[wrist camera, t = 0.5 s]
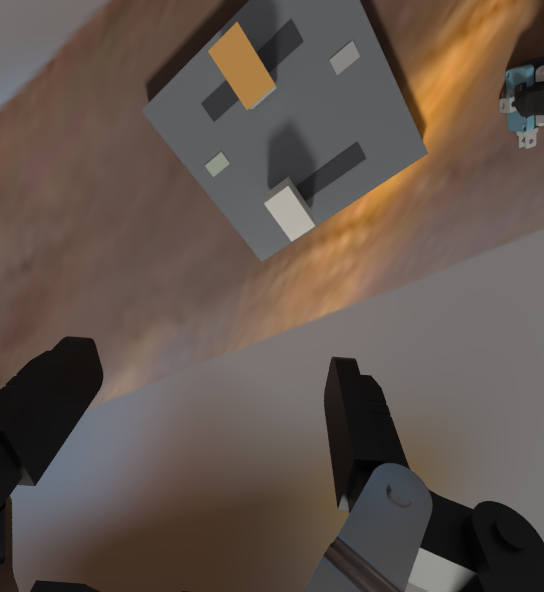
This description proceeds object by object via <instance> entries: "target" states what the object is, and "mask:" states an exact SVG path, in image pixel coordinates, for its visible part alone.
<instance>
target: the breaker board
mask: <svg viewBox="0 0 544 592" xmlns="http://www.w3.org/2000/svg"><path fill="white" fill-rule="evenodd" d="M236 22H238V24H239V25H240V27H241V28H242V30H243V32H244V33H245V35H246V37H247V38H248V40H249V42H250V43H251V45H252V47H253V48H254V50H255V52H256V53H257V55H258V57H259V58H260V60H261V62H262V63H263V65H264V67H265V68H266V70H267V72H268V73H269V75H270V77H271V78H272V80H273V82H274V83H275V86H276V89H275V90H274V91H273V92H272V93H270V94H269V95H268V96H267V97H266V98H265V99H264V100H262V101H261V102H260V103H259V104H258V105H257V106H256V107H254V108H253V109H248V110H246V108H245V107H244V105H243V104H242V102H241V101H240V99H239V98H238V96H237V95H236V93H235V92H234V90H233V89H232V87H231V86H230V84H229V83H228V81H227V80H226V78H225V77H224V75H223V74H222V72H221V70H220V69H219V67H218V66H217V64H216V63H215V61H214V60H213V58H212V57H211V55H210V54H209V52H208V51H209V50H210V49H211V48H212V46H213V45H214V44H215V43H216V42H217V41H218V40H219V39H220V38H221V37H222V36H223V35H224V34H225V33H226V32H227V31H228V30H229V29H230V28H231V27H232V26H233V25H234V24H235V23H236ZM141 111H142V113H143V114H144V115H145V116H146V118H147V119H148V120H149V121H150V123H151V124H152V125H153V126H154V128H155V129H156V130H157V131H158V133H159V134H160V135H161V136H162V138H163V139H164V140H165V141H166V143H167V144H168V145H169V146H170V148H171V149H172V150H173V151H174V153H175V154H176V155H177V156H178V158H179V159H180V160H181V161H182V163H183V164H184V165H185V166H186V168H187V169H188V170H189V171H190V173H191V174H192V175H193V176H194V178H195V179H196V180H197V181H198V183H199V184H200V185H201V186H202V188H203V189H204V190H205V191H206V193H207V194H208V195H209V196H210V198H211V199H212V200H213V201H214V203H215V204H216V205H217V206H218V208H219V209H220V210H221V212H222V213H223V214H224V215H225V217H226V218H227V219H228V220H229V222H230V223H231V224H232V225H233V227H234V228H235V229H236V230H237V232H238V233H239V234H240V235H241V237H242V238H243V239H244V240H245V242H246V243H247V244H248V245H249V247H250V248H251V249H252V250H253V252H254V253H255V254H256V255H257V257H258V258H259V259H260V260H261V262H263V261H264V260H266V259H267V258H269V257H270V256H272V255H273V254H275V253H276V252H278V251H279V250H281V249H282V248H284V247H286V246H287V245H289V244H290V243H292V242H293V241H295V240H296V239H298V238H299V237H301V236H302V235H304V234H305V233H307V232H308V231H310V230H312V229H313V228H315V227H316V226H318V225H319V224H321V223H322V222H324V221H325V220H327V219H328V218H330V217H331V216H333V215H334V214H336V213H338V212H339V211H341V210H342V209H344V208H345V207H347V206H348V205H350V204H351V203H353V202H354V201H356V200H357V199H359V198H360V197H362V196H364V195H365V194H367V193H368V192H370V191H371V190H373V189H374V188H376V187H377V186H379V185H380V184H382V183H383V182H385V181H386V180H388V179H389V178H391V177H393V176H394V175H396V174H397V173H399V172H400V171H402V170H403V169H405V168H406V167H408V166H409V165H411V164H412V163H414V162H415V161H417V160H419V159H420V158H422V157H423V156H425V155H426V154H428V152H427V150H426V147H425V145H424V143H423V141H422V138H421V136H420V134H419V132H418V129H417V127H416V125H415V123H414V120H413V118H412V116H411V114H410V112H409V109H408V107H407V105H406V103H405V100H404V98H403V96H402V94H401V91H400V89H399V87H398V85H397V82H396V80H395V78H394V76H393V73H392V71H391V69H390V67H389V65H388V62H387V60H386V58H385V56H384V53H383V51H382V49H381V47H380V44H379V42H378V40H377V38H376V35H375V33H374V31H373V29H372V27H371V24H370V22H369V20H368V18H367V15H366V13H365V11H364V9H363V6H362V4H361V2H360V0H249V1H248V2H247V3H246V4H245V5H244V6H243V7H242V8H241V9H240V10H239V11H238V12H237V13H236V14H235V15H234V16H233V17H232V18H231V19H230V20H229V21H228V22H227V23H226V24H225V25H224V27H223V28H222V29H221V30H220V31H219V32H218V33H217V34H216V35H215V36H214V37H213V38H212V39H211V40H210V41H209V42H208V43H207V44H206V45H205V46H204V47H203V48H202V49H201V50H200V51H199V52H198V53H197V54H196V55H195V56H194V57H193V58H192V59H191V60H190V61H189V62H188V63H187V64H186V65H185V66H184V67H183V68H182V69H181V70H180V72H179V73H178V74H177V75H176V76H175V77H174V78H173V79H172V80H171V81H170V82H169V83H168V84H167V85H166V86H165V87H164V88H163V89H162V90H161V91H160V92H159V93H158V94H157V95H156V96H155V97H154V98H153V99H152V100H151V101H150V102H149V103H148V104H147V105H146V106H145V107H144V108H143V109H142V110H141Z"/></svg>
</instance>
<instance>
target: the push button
mask: <svg viewBox="0 0 544 592" xmlns="http://www.w3.org/2000/svg"><path fill="white" fill-rule="evenodd" d="M505 80H506V96H507V98H501V99H500V100H499V108H500V112H501V113H507V120H508V129H509V130H510V131H516V133H517V136H519V147H520V148H521V147H523V146H525V148H526V149H528V148H531V147H533V146H535V145H536V132H538V127H540V126H543V125H544V57H539V58H535V59H533V60H531V61H528V62H526V63H524V64H521V65H519V66H517V67H515V68H512V69H510V70H508V71H506V73H505ZM503 103H504V104H505V108H503V107H502V104H503ZM523 138H525V142H524V143H522V139H523ZM530 139H533V142H532V143H531V144H529V140H530Z"/></svg>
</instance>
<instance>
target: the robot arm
mask: <svg viewBox="0 0 544 592" xmlns="http://www.w3.org/2000/svg"><path fill="white" fill-rule="evenodd" d="M102 382H103V370H102V366H101V363H100V359H99V355H98V352H97V348H96V345H95V342H94V340H93V339H92V338H83V337H70V336H67V337H64V338H63V339H62V340H61V341H60V342H59V343H58V344H57V345H56V346H55V347H54V348H53V349H52V350H51V351H46V352H44V353H42V354H41V355H39V356H37V357H36V358H34V359H32V360H31V361H29V362H28V363H27V364H26V365H25V366H24V367H23V368H22V369H21V370H20V371H19V372H18V373H17V376H14V377H13V378H12V379H11V380H10V381H9V382H8V383H7V384H6V386H5V387H3V388H1V389H0V592H19V589H18V585H17V583H16V580H15V577H14V572H13V541H12V540H13V539H12V538H13V537H12V536H13V535H12V499H11V497H10V494H11V493H12V491H13V490H14V489H15V487H16V486H17V485H28V486H35V485H36V484H37V483H38V481H39V480H40V478H41V477H42V475H43V474H44V472H45V471H46V469H47V468H48V466H49V465H50V463H51V462H52V460H53V459H54V457H55V456H56V454H57V453H58V451H59V450H60V448H61V447H62V445H63V444H64V442H65V441H66V439H67V438H68V436H69V435H70V433H71V432H72V430H73V429H74V427H75V426H76V424H77V423H78V421H79V420H80V418H81V417H82V415H83V414H84V412H85V411H86V409H87V408H88V406H89V405H90V403H91V402H92V400H93V399H94V397H95V396H96V394H97V393H98V391H99V390H100V388H101V385H102ZM324 409H325V416H326V424H327V431H328V439H329V447H330V454H331V462H332V469H333V477H334V485H335V493H336V500H337V508H338V510H344V511H345V510H346V511H349V516H348V518H347V519H346V521H345V523H344V525H343V527H342V528H341V530H340V532H339V534H338V536H337V537H336V539H335V541H334V542H333V543H332V544H330V546H329V547H328V549H327V551H326V552H325V554H324V555H323V557H322V559H321V561H320V562H319V564H318V566H317V568H316V569H315V571H314V573H313V575H312V576H311V578H310V580H309V582H308V584H307V585H306V587H305V589H304V591H303V592H405V589H406V586H407V583H408V582H410V583H412V584H414V585H416V586H418V587H420V588H422V589H424V590H426V591H428V592H544V542H543V540H542V539H541V537H540V536H539V534H538V533H537V531H536V530H535V529H534V528H533V527H532V525H531V524H530V523H529V522H528V521H527V520H526V519H525V518H524V517H522V516H521V515H520V514H518V513H517V512H516V511H514V510H513V509H511V508H509V507H508V506H506V505H503V504H501V503H498V502H493V501H484V502H481V503H479V504H478V505H477V506H476V507H475V508H474V509H471V508H469V507H466V506H464V505H461V504H459V503H456V502H454V501H451V500H448V499H446V498H443V497H441V496H439V495H437V494H435V493H434V492H432V491H430V490H429V489H428V488H427V487H426V485H425V484H424V482H423V481H422V480H421V479H420V477H419V476H417V475H416V474H415V473H414V472H413V471H411V469H410V468H409V465H408V463H407V460H406V458H405V454H404V452H403V449H402V446H401V443H400V440H399V438H398V434H397V431H396V429H395V426H394V423H393V420H392V417H390V412H389V408H388V406H387V405H386V400H385V397H384V394H383V391H382V388H381V387H380V386H379V385H378V383H377V382H376V381H375V380H374V379H373V377H372V376H370V375H360V371H359V368H358V365H357V361H356V359H354V358H342V357H332V359H331V362H330V367H329V372H328V377H327V382H326V387H325V393H324ZM30 592H100V591H98V590H95V589H93V588H91V587H89V586H87V585H85V584H79V583H65V582H52V581H51V582H50V581H38V580H36V582H35V584H34V586H33V588H32V589H31V591H30ZM183 592H187V591H183Z"/></svg>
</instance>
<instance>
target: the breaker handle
mask: <svg viewBox="0 0 544 592" xmlns="http://www.w3.org/2000/svg"><path fill="white" fill-rule="evenodd" d="M208 52H209V54H210V55H211V57H212V58H213V60H214V61H215V63H216V64H217V66H218V67H219V69H220V70H221V72H222V74H223V75H224V77H225V78H226V80H227V81H228V83H229V84H230V86H231V87H232V89H233V90H234V92H235V93H236V95H237V96H238V98H239V99H240V101H241V102H242V104H243V105H244V107H245V108H246V110H248V109H253V108H254V107H256V106H257V105H258V104H259V103H260V102H261V101H262V100H264V99H265V98H266V97H267V96H268V95H269V94H270V93H272V92H273V91H274V90H275V89H276V86H275V83H274V82H273V80H272V78H271V77H270V75H269V73H268V72H267V70H266V68H265V67H264V65H263V63H262V62H261V60H260V58H259V57H258V55H257V53H256V52H255V50H254V48H253V47H252V45H251V43H250V42H249V40H248V38H247V37H246V35H245V33H244V32H243V30H242V28H241V27H240V25H239V24H238V22H236V23H235V24H234V25H233V26H232V27H231V28H230V29H229V30H228V31H227V32H226V33H225V34H224V35H223V36H222V37H221V38H220V39H219V40H218V41H217V42H216V43H215V44H214V45H213V46H212V48H211V49H210V50H209V51H208Z"/></svg>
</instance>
